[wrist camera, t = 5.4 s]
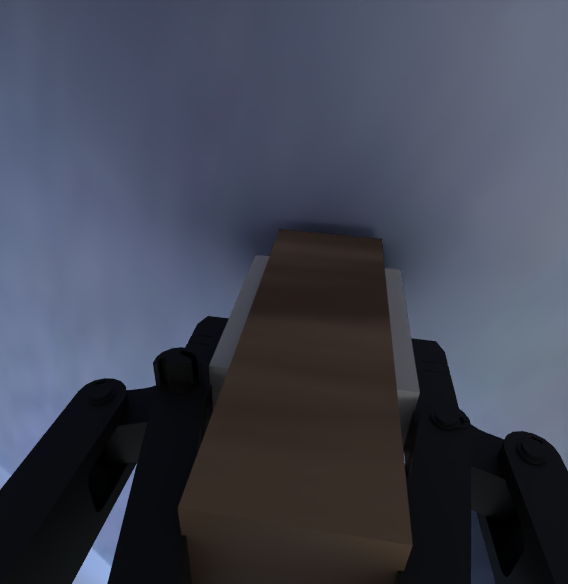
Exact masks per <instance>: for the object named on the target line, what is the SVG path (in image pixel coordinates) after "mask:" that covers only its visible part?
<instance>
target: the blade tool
mask: <svg viewBox="0 0 568 584" xmlns="http://www.w3.org/2000/svg"><path fill="white" fill-rule="evenodd" d="M178 515H179V522H180V529H181V535H184V536H186V539H187V546H188V554H189V562H190V570H191V577H192V584H394V582H395V579H396V576H397V573H398V570H400V571H404V569H405V567H406V564H407V561H408V558H409V555H410V552H411V549H412V546H413V544H412V534H411V524H410V514H409V504H408V494H407V484H406V474H405V464H404V454H403V444H402V434H401V425H400V415H399V405H398V395H397V385H396V375H395V365H394V355H393V345H392V335H391V325H390V315H389V305H388V295H387V285H386V275H385V265H384V256H383V246H382V239H377V238H367V237H356V236H345V235H335V234H324V233H314V232H303V231H292V230H282V229H279V232H278V235H277V237H276V240H275V243H274V246H273V248H272V251H271V254H270V257H269V259H268V262H267V265H266V268H265V270H264V273H263V276H262V278H261V281H260V284H259V287H258V289H257V292H256V295H255V298H254V300H253V303H252V306H251V309H250V311H249V314H248V317H247V320H246V322H245V325H244V328H243V331H242V333H241V336H240V339H239V342H238V344H237V347H236V350H235V352H234V355H233V358H232V361H231V363H230V366H229V369H228V372H227V374H226V377H225V380H224V383H223V385H222V388H221V391H220V394H219V396H218V399H217V402H216V405H215V407H214V410H213V413H212V416H211V418H210V421H209V424H208V426H207V429H206V432H205V435H204V437H203V440H202V443H201V446H200V448H199V451H198V454H197V457H196V459H195V462H194V465H193V468H192V470H191V473H190V476H189V479H188V481H187V484H186V487H185V490H184V492H183V495H182V498H181V500H180V503H179V506H178Z"/></svg>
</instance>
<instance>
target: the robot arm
mask: <svg viewBox="0 0 568 584" xmlns="http://www.w3.org/2000/svg"><path fill="white" fill-rule="evenodd" d="M269 257H270V256H261V255H256V256H255V258H254V261H253V263H252V265H251V268H250V270H249V272H248V275H247V277H246V279H245V282H244V284H243V287H242V289H241V291H240V294H239V296H238V298H237V301H236V303H235V305H234V308H233V310H232V313H231V315H230V317H229V318H220V317H211V316H207V317H206V318H205V319H203V320H202V321H201V322H200V323H198V324H197V326H196V328H195V330H194V332H193V334H192V336H191V338H190V339H189V341H188V344H187V345H186V347H185V348H182V347H180V348H172V349H169V350H167V351H164V352H162V353H161V354H160V355H158V356H157V357H156V359H155V361H154V362H153V366H154V373H155V380H156V386H153V387H149V388H144V389H135V390H127V391H126V386H125V385H124V384H123V383H122V382H121V381H119V380H116V379H107V378H104V379H99V380H95V381H93V382H91V383H89V384H87V385H85V386H84V387H83V388H82V389H81V390H79V391H78V393H77V394H76V395H75V396H74V398H73V399H72V400H71V401H70V403H69V404H68V405H67V406H66V408H65V409H64V410H63V412H62V413H61V414H60V415H59V417H58V418H57V419H56V420H55V422H54V423H53V424H52V425H51V427H50V428H49V429H48V430H47V432H46V433H45V434H44V435H43V437H42V438H41V439H40V440H39V442H38V443H37V444H36V446H35V447H34V448H33V449H32V451H31V452H30V453H29V454H28V456H27V457H26V458H25V459H24V461H23V462H22V463H21V464H20V466H19V467H18V468H17V469H16V471H15V472H14V473H13V474H12V476H11V477H10V478H9V480H8V481H7V482H6V483H5V485H4V486H3V487H2V488H1V490H0V584H72V582H73V581H74V579H75V577H76V575H77V573H78V571H79V569H80V567H81V566H82V564H83V562H84V560H85V558H86V556H87V555H88V553H89V551H90V549H91V547H92V545H93V543H94V542H95V540H96V538H97V536H98V534H99V532H100V530H101V529H102V527H103V525H104V523H105V521H106V519H107V517H108V516H109V514H110V512H111V510H112V508H113V506H114V504H115V503H116V501H117V499H118V497H119V495H120V493H121V491H122V490H123V488H124V486H125V484H126V482H127V480H128V478H129V477H130V475H131V473H132V471H133V469H134V467H135V465H136V464H137V466H136V470H135V474H134V478H133V482H132V487H131V491H130V495H129V499H128V503H127V507H126V511H125V515H124V519H123V523H122V527H121V531H120V535H119V539H118V543H117V547H116V551H115V555H114V560H113V564H112V568H111V572H110V576H109V580H108V584H192V577H191V570H190V562H189V554H188V546H187V539H186V536H184V535H181V529H180V522H179V515H178V506H179V503H180V500H181V498H182V495H183V492H184V490H185V487H186V484H187V481H188V479H189V476H190V473H191V470H192V468H193V465H194V462H195V459H196V457H197V454H198V451H199V448H200V446H201V443H202V440H203V437H204V435H205V432H206V429H207V426H208V424H209V421H210V418H211V416H212V413H213V410H214V407H215V405H216V402H217V399H218V396H219V394H220V391H221V388H222V385H223V383H224V380H225V377H226V374H227V372H228V369H229V366H230V363H231V361H232V358H233V355H234V352H235V350H236V347H237V344H238V342H239V339H240V336H241V333H242V331H243V328H244V325H245V322H246V320H247V317H248V314H249V311H250V309H251V306H252V303H253V300H254V298H255V295H256V292H257V289H258V287H259V284H260V281H261V278H262V276H263V273H264V270H265V268H266V265H267V262H268V259H269ZM385 275H386V285H387V295H388V305H389V315H390V325H391V335H392V345H393V355H394V365H395V375H396V385H397V395H398V405H399V415H400V425H401V434H402V444H403V453H404V455H405V474H406V484H407V494H408V504H409V514H410V524H411V534H412V544H413V546H412V549H411V552H410V555H409V558H408V561H407V564H406V567H405V569H404V571H400V570H398V573H397V576H396V579H395V582H394V584H471V509H472V510H474V511H476V512H477V516H478V520H479V523H480V527H481V531H482V534H483V538H484V542H485V545H486V549H487V553H488V556H489V560H490V564H491V567H492V571H493V575H494V578H495V582H496V584H568V471H567V469H566V467H565V465H564V463H563V461H562V459H561V456H560V455H559V453H558V452H557V451H556V449H555V448H554V446H552V445H551V444H550V443H549V442H547V441H546V440H545V439H543V438H541V437H539V436H537V435H535V434H532V433H528V432H524V431H517V432H512V433H510V434H508V435H507V436H506V438H505V439H501V438H499V437H496V436H493V435H491V434H488V433H486V432H483V431H481V430H479V429H477V428H476V427H474V426H473V425H471V424H470V420H469V418H468V417H467V416H466V414H465V413H464V412H463V411H461V410H460V409H459V407H458V403H457V399H456V395H455V391H454V387H453V383H452V379H451V375H450V371H449V367H448V366H447V364H448V363H447V359H446V355H445V352H444V351H443V349H442V348H441V347H440V346H439V345H438V343H437V342H436V341H429V340H420V339H412V338H411V334H410V328H409V321H408V315H407V309H406V302H405V296H404V290H403V284H402V277H401V271H400V269H390V268H385Z"/></svg>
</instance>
